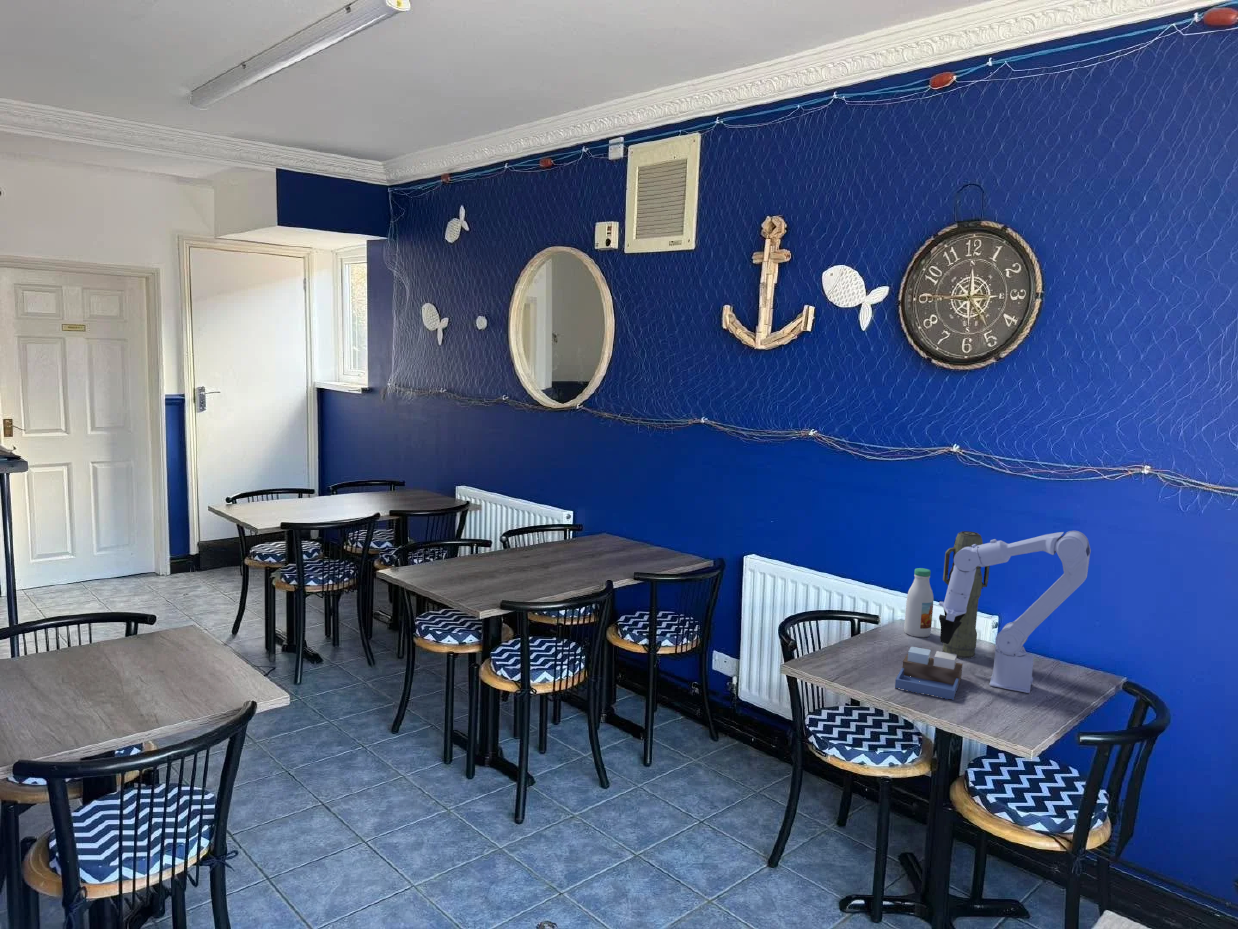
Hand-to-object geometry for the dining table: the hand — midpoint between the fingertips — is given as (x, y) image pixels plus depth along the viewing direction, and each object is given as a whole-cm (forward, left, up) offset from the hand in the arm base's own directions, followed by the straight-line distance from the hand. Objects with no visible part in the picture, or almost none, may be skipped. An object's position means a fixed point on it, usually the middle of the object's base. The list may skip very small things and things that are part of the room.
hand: (946, 638), depth 238 cm
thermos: (-2, -17, -9) cm, 19 cm away
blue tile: (+6, +7, -5) cm, 10 cm away
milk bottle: (+11, -29, -9) cm, 32 cm away
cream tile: (-1, +7, -5) cm, 9 cm away
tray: (+2, +16, -9) cm, 19 cm away
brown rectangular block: (+2, +7, -9) cm, 12 cm away
